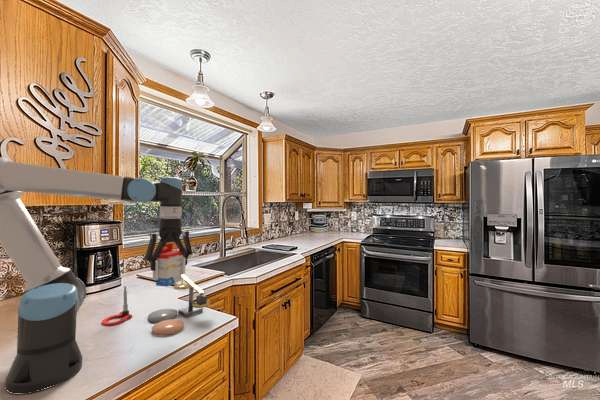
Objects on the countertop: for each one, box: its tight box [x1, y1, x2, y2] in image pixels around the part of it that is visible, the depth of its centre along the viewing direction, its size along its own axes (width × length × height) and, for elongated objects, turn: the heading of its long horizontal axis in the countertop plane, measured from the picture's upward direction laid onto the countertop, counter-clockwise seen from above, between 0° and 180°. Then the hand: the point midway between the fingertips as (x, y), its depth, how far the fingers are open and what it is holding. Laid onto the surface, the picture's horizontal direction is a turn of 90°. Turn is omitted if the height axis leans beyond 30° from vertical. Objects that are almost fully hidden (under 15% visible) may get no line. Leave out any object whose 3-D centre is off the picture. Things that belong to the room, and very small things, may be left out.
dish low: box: [151, 318, 185, 337], centre depth 100 cm, size 11×11×1 cm
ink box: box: [155, 242, 183, 287], centre depth 100 cm, size 8×5×15 cm, turn 169°
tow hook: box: [101, 285, 133, 327], centre depth 106 cm, size 8×13×9 cm
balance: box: [173, 274, 211, 318], centre depth 115 cm, size 8×24×15 cm, turn 50°
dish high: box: [147, 308, 178, 324], centre depth 110 cm, size 11×11×1 cm
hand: (169, 276), depth 100 cm, fingers closed on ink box, 9 cm apart
